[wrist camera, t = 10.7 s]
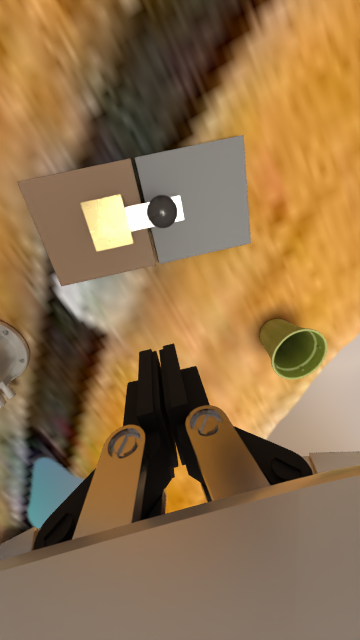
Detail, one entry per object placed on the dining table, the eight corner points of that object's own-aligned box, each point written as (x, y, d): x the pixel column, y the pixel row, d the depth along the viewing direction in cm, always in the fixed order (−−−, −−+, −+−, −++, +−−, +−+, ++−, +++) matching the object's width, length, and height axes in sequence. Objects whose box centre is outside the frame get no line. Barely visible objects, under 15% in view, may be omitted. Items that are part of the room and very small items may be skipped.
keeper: (134, 240, 35) (133, 243, 31) (101, 248, 34) (96, 251, 31) (122, 196, 32) (120, 194, 29) (86, 204, 32) (80, 202, 29)
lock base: (247, 242, 38) (250, 243, 37) (64, 283, 37) (61, 286, 36) (239, 138, 33) (243, 135, 31) (22, 183, 31) (17, 181, 30)
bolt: (182, 221, 34) (189, 222, 29) (101, 239, 34) (93, 243, 28) (177, 194, 33) (184, 189, 28) (93, 212, 32) (82, 211, 27)
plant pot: (241, 334, 45) (261, 358, 37) (279, 299, 43) (309, 318, 36) (268, 360, 49) (291, 388, 41) (304, 330, 47) (337, 352, 39)
